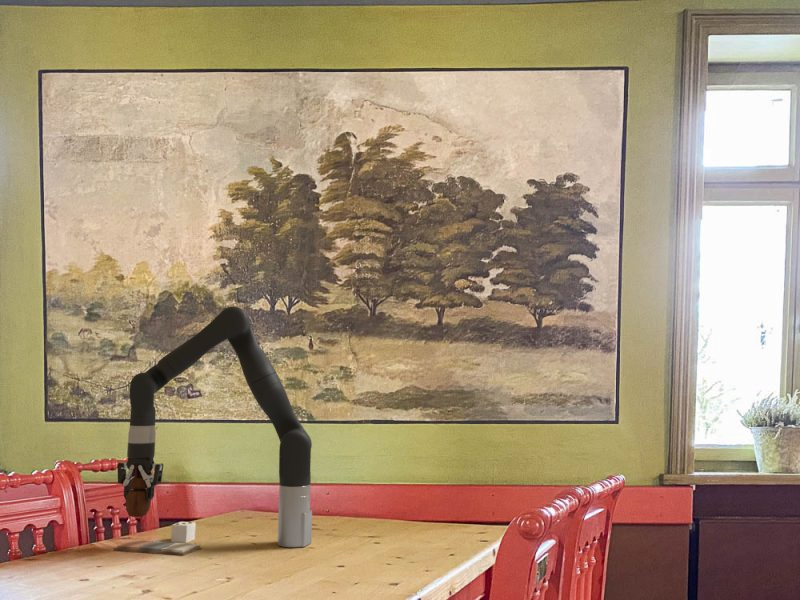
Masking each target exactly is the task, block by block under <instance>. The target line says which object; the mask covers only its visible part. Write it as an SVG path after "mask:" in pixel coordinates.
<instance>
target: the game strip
mask: <svg viewBox="0 0 800 600" xmlns="http://www.w3.org/2000/svg"><path fill="white" fill-rule="evenodd" d="M199 549H201V545H198V544H197V543H190V542H187V543H181V542H171V541H170V542H168V541H160V540H159V541H157V540H156V541H154V540H144V539H143V540H142V539H141V540H140V539H133V540H129V541H127V542H124V543H120V544H118V545H117V546H116V547H114V548H113V551H115V552H129V553H130V552H131V553H142V554H144V553H145V554H156V555H157V554H158V555H170V556H171V555H173V556H182V557H183V556H185V555H188V554H191V553H192V552H195V551H197V550H199Z"/></svg>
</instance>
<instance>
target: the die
mask: <svg viewBox="0 0 800 600" xmlns="http://www.w3.org/2000/svg"><path fill="white" fill-rule="evenodd" d="M194 540H196V522H194V521H193V522H191V521H178V522H176V523H172V524H171V537H170V542H174V543H190V542H192V541H194Z"/></svg>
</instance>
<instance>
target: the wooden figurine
mask: <svg viewBox="0 0 800 600" xmlns="http://www.w3.org/2000/svg"><path fill="white" fill-rule="evenodd" d="M130 487H131V489H132V490H131V491H130V492H129V493H128V494H127V496H126V499H125V510H126V512H127V514H128V516H129V517H132V518H141V517H145V516H146V515H147V514H148V512H149V511H150V508H151V504H152V503H151V502H152V500H149V501H148V500H146V490H147V484H146V482H145V480H144V479H143V477H139V475H138V467H137V464H136V467H135V477H133V478H132V479H131V482H130Z"/></svg>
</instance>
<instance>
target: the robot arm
mask: <svg viewBox="0 0 800 600" xmlns="http://www.w3.org/2000/svg"><path fill="white" fill-rule="evenodd" d="M250 322H251V321H250V319H249V316H248V314H247V313H246V312H245V311H244V309H242V308H241V307H238V306H228V307H225V308H224V309H223V310H221V312H219V313H218V314H217V315H216V316H215V317H214V318H213V319H212V320H211V321H210V322H209V323H208V324H207V325H206V326H205V327H204V328H202V329H201V330H200V331H199V332H198V333H196V334H195V335H193V336H192V337H191V338H189V339H188V340H187V341H184V342H183V343H181V344H180V345H178V346H177V347H175V348H174V349H173V350H172V351H169V353H167V354H166V355H164V356H163V357H161V359H159V361H158V362H157V363H156V364H155V365H154V366H152V367H150V369H148V370H146V371H145V372H140V373H136V374H135V375H134V376H133V377H132V379H131V380H130V383H129V401H130V402H129V403H130V415H129V428H128V435H127V436H128V437H127V449H126V450H127V454H126V457H127V460H126V461H121V462H117V467H116V468H117V484H119V485H123V497H124V500H126V496H127V494H128V493H129V492H130V491H131V490H133V489H131V487H130V482H131V479H132V478H133V477H135V467H136V464H137V467H138V475H139V477H143V479H144V480H145V482H146V484H147V488H146V489H147V490H146V500H148V501H149V500H151V501H152V500H153V499H154V497H155V488H156V486H158V485H160V484H162V478H163V472H164V463H155V460H154V457H155V455H156V454H155V451H156V416H157V414H156V413H157V412H156V407H155V406H154V405H155V404H154V401H155V394H156V393H157V392H158V391H160V390H161V389H162V388H163V387H165V386H166V385H167V384H168V383H170V381H172V380H173V379H176V378H177V377H178V376H180V375H181V374H183V373H184V372H185V371H187V370H188V369H190V368H191V367H192V366H194V364H196V363H197V362H198V361H199V360H201V358H203V357H204V356H205V355H206V354H207V353H208V352H209V351H211V350H212V349H213V348H214V347H216V346H218V345H219V344H221V343H222V342H224V341H226V340H227V341H228V342H229V344H230V345H231V347H232V348H233V350H234V352H235V354H236V356H237V358H238V361H239V364H240V368H241V370H242V373H243V376H244V379H245V381H246V384H247V385H248V388H249V389H250V392H251V394H252V395H253V397H254V399H255V401H256V402H257V404H258V405H259V407H260V408H261V410H262V411H263V412H264V414H265V415H266V416H267V418H268V419H269V420H270V422H271V423H272V425H273V427H274V430H275V432H276V435H277V437H278V439H279V442H280V443H279V450H278V451H279V452H278V455H279V456H278V457H279V458H278V461H279V463H278V467H279V468H278V476H279V477H278V479H279V486H278V488H279V489H278V490H279V491H278V495H279V496H278V515H277V516H278V520H277V521H278V522H277V523H278V524H277V546H279V547H284V548H305V547H307V546H308V545H309V544H311V543H312V539H313V538H312V536H313V535H312V534H313V533H312V532H313V510H312V509H311V478H312V476H311V475H312V474H311V457H312V448H313V447H312V446H313V445H312V444H313V443H312V439H311V437H310V435H309V434H308V432H307V431H306V430H305V428H304V427H303V424H301V422H300V420H299V419H298V417H297V416H296V414H295V412H294V409H293V407H292V404H291V402H290V399H289V396H288V395H287V392H286V389H285V387H284V385H283V383H282V381H281V378H280V377H279V375H278V373H277V371H276V369H275V368H274V366H273V364H272V362H271V361H270V359H269V358H268V357H267V355H266V353H265V352H264V351H263V349H262V348H261V346H260V345H259V342H258V340H257V337H256V335H255V333H254V331H253V328H252V325H251V323H250ZM127 469H128V472H127ZM152 470H153V471H154V472H153V471H152Z"/></svg>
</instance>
